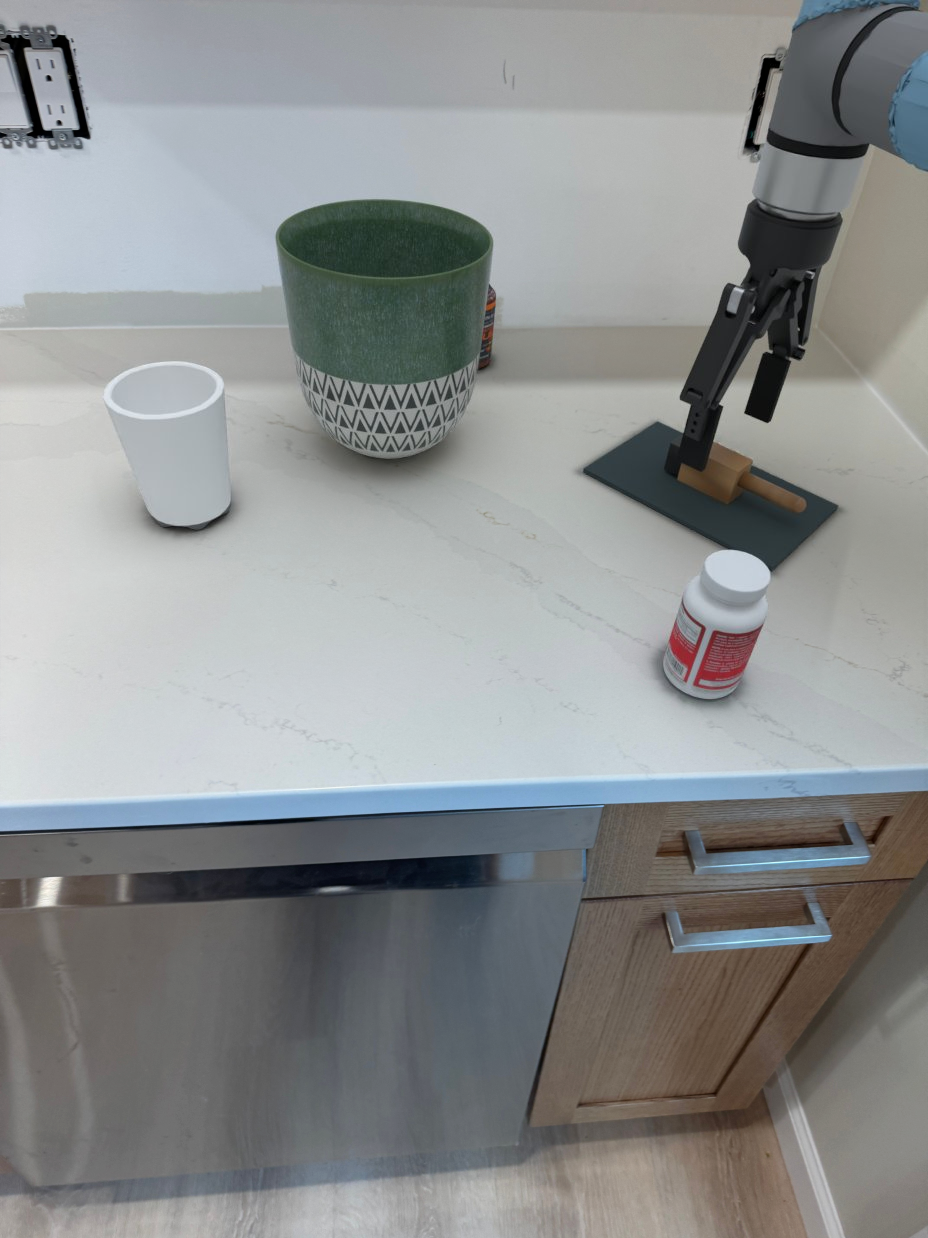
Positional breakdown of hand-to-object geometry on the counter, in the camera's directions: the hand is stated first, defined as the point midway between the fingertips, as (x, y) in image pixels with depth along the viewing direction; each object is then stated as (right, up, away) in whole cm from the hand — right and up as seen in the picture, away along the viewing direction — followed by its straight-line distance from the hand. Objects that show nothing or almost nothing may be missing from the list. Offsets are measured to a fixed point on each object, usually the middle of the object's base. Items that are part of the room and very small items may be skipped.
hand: (725, 440), depth 81 cm
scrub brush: (+1, -5, +3) cm, 6 cm away
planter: (-34, +1, +8) cm, 35 cm away
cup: (-52, -7, -2) cm, 52 cm away
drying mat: (0, -4, +4) cm, 6 cm away
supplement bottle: (-25, +15, +22) cm, 37 cm away
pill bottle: (-7, -22, -14) cm, 27 cm away
